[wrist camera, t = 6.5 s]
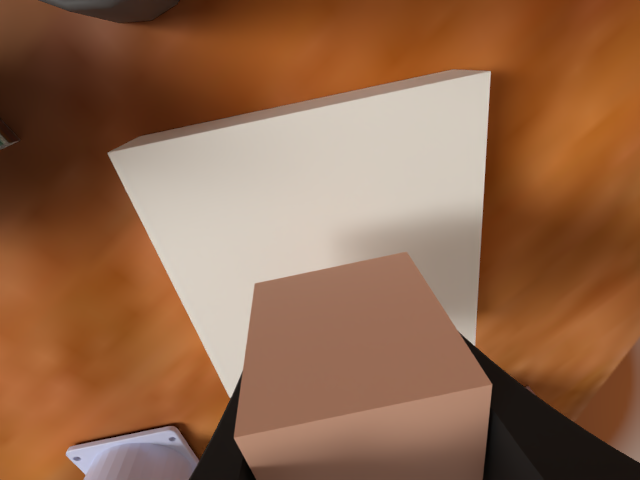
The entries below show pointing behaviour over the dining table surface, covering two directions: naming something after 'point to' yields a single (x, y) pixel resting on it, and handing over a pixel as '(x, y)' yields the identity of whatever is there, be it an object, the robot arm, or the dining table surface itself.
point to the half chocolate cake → (6, 136)
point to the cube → (359, 380)
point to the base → (316, 198)
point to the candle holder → (116, 8)
